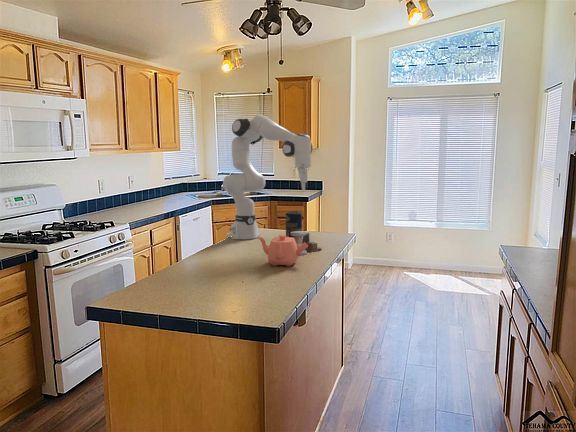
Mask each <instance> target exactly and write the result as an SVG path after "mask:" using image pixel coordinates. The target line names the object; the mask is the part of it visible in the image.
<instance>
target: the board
mask: <svg viewBox="0 0 576 432" xmlns="http://www.w3.org/2000/svg"><path fill="white" fill-rule="evenodd" d="M302 244H303V238H302ZM307 245H308V247H307V248H306V249H305V250H306V251H307V252H310V253H313V252H314V251H315V252H319V251H322V250H323V249H322V248H321V247H318V242H315V241H309V242H307Z"/></svg>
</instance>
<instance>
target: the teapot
mask: <svg viewBox="0 0 576 432" xmlns="http://www.w3.org/2000/svg"><path fill="white" fill-rule="evenodd" d="M256 239H258V240H259V241H260V242H261V245H262V250H263V252H264V253H265V254H266V255H267V261H268V263H269V264H270V265H272V266H273V267H277V266H280V265H281V266H286V267H292V265H293V264H295V263H296V262H297V260H298V258H299V256H300V255H299V254H300V253H301V252H302V251H303V250H305V249H306V248H307V247H308V245H307V244H306V243H305V242H304V243H303V244H302V245H301V246H300V247H299V248H298V249H297V245H296V242H295V239H294V238H293V237H286V234H280V235H279V236H276V237H274V238H272V239H271V240H270V242H269V246H268V245H267V243H266V240H265V239H264V238H263V237H260V236H258V237H257V238H256Z"/></svg>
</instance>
